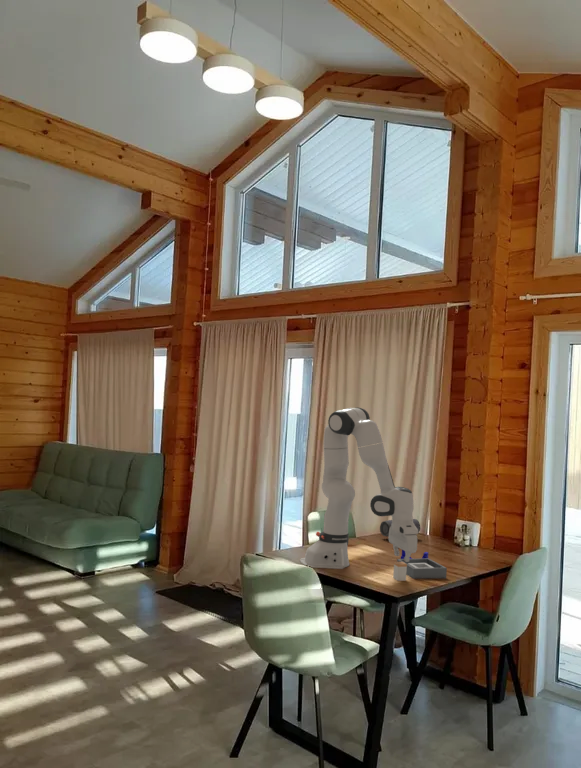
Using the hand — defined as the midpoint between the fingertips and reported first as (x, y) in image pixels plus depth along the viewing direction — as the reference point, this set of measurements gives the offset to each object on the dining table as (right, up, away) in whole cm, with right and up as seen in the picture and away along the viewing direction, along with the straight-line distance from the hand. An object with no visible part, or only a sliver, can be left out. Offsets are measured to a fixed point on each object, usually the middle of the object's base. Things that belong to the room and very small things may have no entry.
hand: (401, 558), depth 277 cm
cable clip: (+11, -11, +32) cm, 36 cm away
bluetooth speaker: (+14, -12, +88) cm, 90 cm away
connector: (-1, -10, 0) cm, 10 cm away
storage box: (+11, -11, +13) cm, 20 cm away
